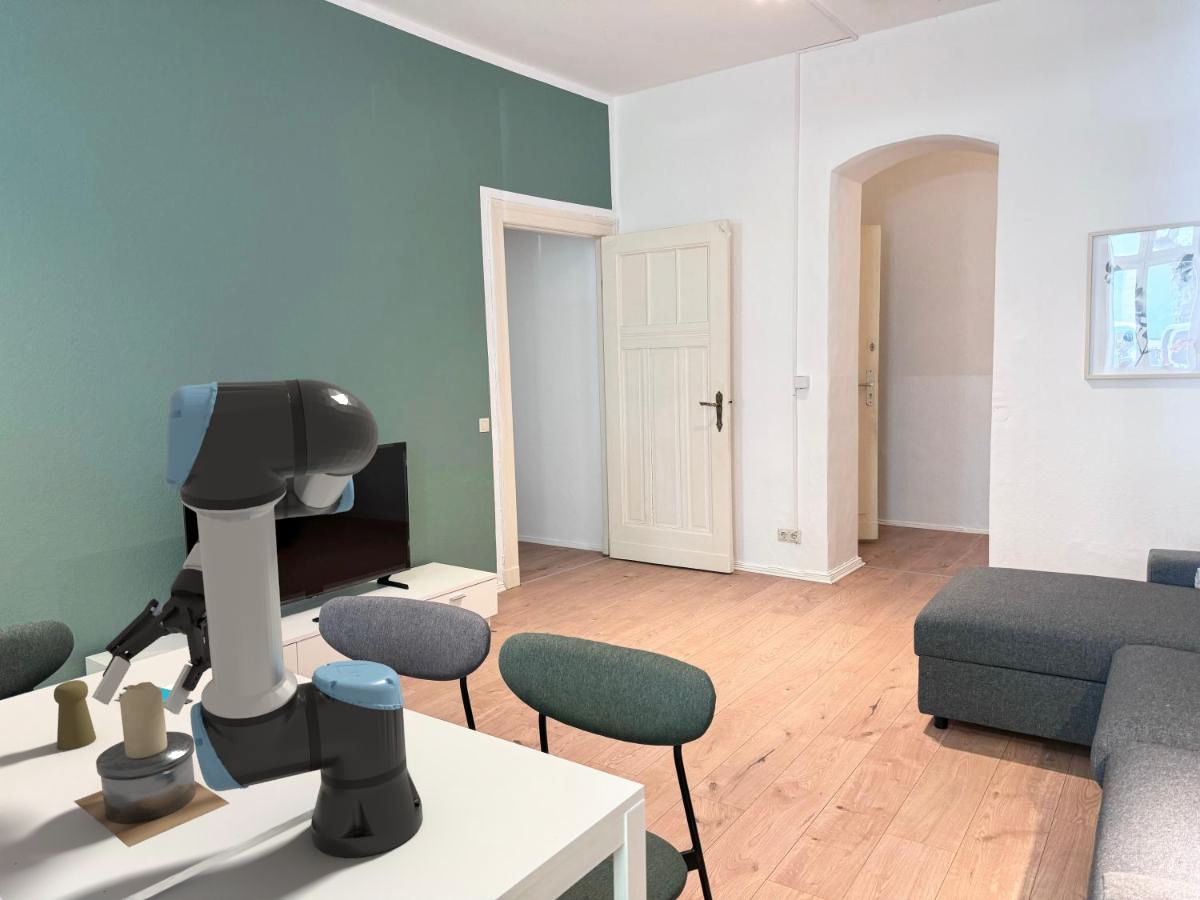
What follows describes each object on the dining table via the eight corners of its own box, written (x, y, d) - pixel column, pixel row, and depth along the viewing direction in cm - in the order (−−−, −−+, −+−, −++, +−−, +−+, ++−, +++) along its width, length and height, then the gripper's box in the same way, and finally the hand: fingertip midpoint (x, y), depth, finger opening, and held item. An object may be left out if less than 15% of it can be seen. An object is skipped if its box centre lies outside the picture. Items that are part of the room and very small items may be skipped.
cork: (67, 753, 149) (60, 692, 148) (49, 745, 152) (42, 685, 151) (103, 739, 154) (96, 679, 153) (85, 732, 157) (78, 674, 156)
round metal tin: (214, 797, 129) (209, 746, 128) (123, 835, 119) (117, 780, 118) (175, 772, 137) (171, 724, 136) (87, 806, 127) (81, 755, 126)
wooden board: (230, 812, 127) (229, 802, 127) (130, 857, 117) (129, 846, 116) (170, 773, 140) (169, 764, 140) (75, 810, 129) (74, 800, 129)
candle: (149, 760, 124) (142, 693, 123) (116, 758, 125) (109, 691, 124) (176, 743, 129) (169, 678, 128) (143, 741, 130) (137, 677, 129)
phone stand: (219, 692, 175) (219, 684, 175) (166, 715, 165) (165, 707, 164) (156, 678, 184) (155, 670, 184) (102, 698, 174) (101, 691, 174)
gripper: (280, 594, 136) (217, 725, 124) (159, 585, 145) (89, 706, 133) (253, 570, 131) (185, 704, 118) (129, 562, 139) (53, 686, 127)
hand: (134, 706), depth 125 cm, fingers open, 13 cm apart
